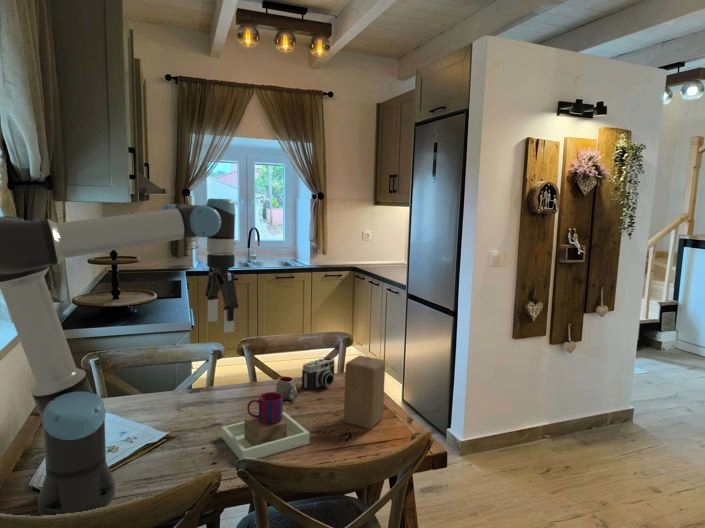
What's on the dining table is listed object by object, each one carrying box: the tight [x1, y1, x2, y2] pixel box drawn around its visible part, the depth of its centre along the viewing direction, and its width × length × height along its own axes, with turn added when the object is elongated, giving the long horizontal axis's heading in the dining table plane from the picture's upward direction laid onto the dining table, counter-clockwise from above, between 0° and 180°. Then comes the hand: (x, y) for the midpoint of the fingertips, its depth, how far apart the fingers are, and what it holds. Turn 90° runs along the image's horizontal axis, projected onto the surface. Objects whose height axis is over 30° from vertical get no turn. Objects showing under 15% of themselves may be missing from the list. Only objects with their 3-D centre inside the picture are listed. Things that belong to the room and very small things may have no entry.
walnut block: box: [244, 415, 287, 447], centre depth 135 cm, size 9×9×6 cm
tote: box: [221, 411, 311, 460], centre depth 135 cm, size 20×16×4 cm
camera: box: [301, 356, 335, 392], centre depth 179 cm, size 14×9×10 cm, turn 130°
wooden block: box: [343, 355, 386, 430], centre depth 151 cm, size 10×10×20 cm
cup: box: [246, 391, 284, 424], centre depth 135 cm, size 7×10×7 cm
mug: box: [275, 376, 298, 402], centre depth 167 cm, size 12×7×7 cm, turn 31°
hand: (220, 326), depth 136 cm, fingers open, 13 cm apart
